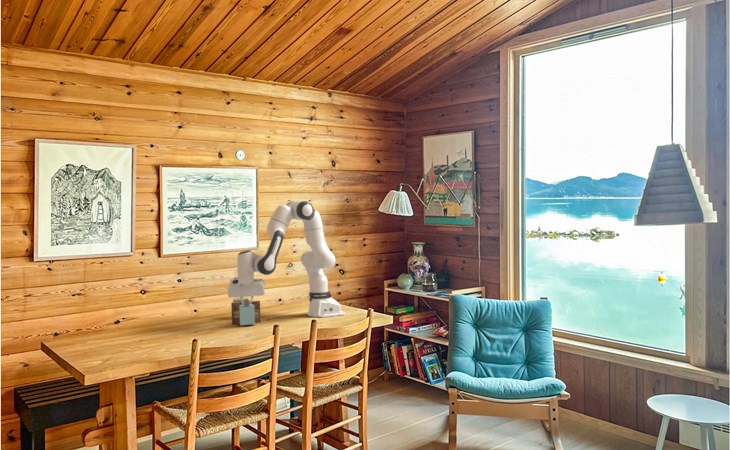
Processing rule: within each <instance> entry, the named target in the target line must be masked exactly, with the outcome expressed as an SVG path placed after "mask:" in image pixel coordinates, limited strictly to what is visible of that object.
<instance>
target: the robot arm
mask: <svg viewBox="0 0 730 450" xmlns="http://www.w3.org/2000/svg"><path fill="white" fill-rule="evenodd" d="M292 220H295V221H300V220H301V221H302V223H303V227H304V228H303V229H304V235H305V236H304V237H305V242H306V244H307V245H309V246H310V249H311V250H307V251H304V252H303V253H302V254H301V257H300V262H301V265H303V267H304V268H305V270H306V273H307V277H308V281H309V283H308V284H309V291H308V301H309V305H308V306H309V307H308V310H307V311H308V312H307V316H308V317H314V318H328V317H329V318H330V317H340V316H345V315H346V312H345V310H342V306H341V304H340V302H338V301H337V300H336V299H334V298H333V296H334V293H333V292H330V291H329V285H328V284H329V281H328V278H327V276H326V275H325V273H324V270H329V269H332V268H333V267H334V266H335V264H336V262H337V261H336V257H335V254H334V253H332V251H331V250H330V248H329V247H328V244H327V242H326V238H325V233H324V228H323V222H322V217H321V214H320V212H319V210H318V211H317V210H315V208H314V205H312V203H310V202H308V201H307V200H296V201H295V200H294V201H290V202H288V203H287V204H279V205H278V206H277V207H276V209H275V210H274V211H273V213H272V214H271V217H270V218H269V221H268V224H267V227H266V231H267V234H268V235H269V237H270V242H269V245H268V248H267V250H266V252H265V254H264V255H261V254H258V253H256V252H253V251H252V250H242V251H240V252H239V253H238V255H237V257H236V258H237V259H236V261H237V264H236V267H237V276H236V277H233V278H231V279H230V280H229V285H228V288H227V297H228V298H240V300H241V301H242V305H245V302H244V301H243V300H242V297H250V299H249V304H252V302H251V301H254V300H253V299H254V297H257V296H258V297H259V296H265V292H266V291H265V285H266V281H265V280H264V279H262V278H256V279H255V273H259V274H262V275H265V276H268V275H271V274H273V273H274V272H275V270H276V267H277V260H278V256H279V253H280V250H281V247H282V244H283V242H284V237H285V233H287V229H288V228H289V225H290V223H291V221H292Z"/></svg>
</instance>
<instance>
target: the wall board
mask: <svg viewBox="0 0 730 450" xmlns="http://www.w3.org/2000/svg"><path fill="white" fill-rule="evenodd" d="M251 302H252V304H253V305H254V312H255V323H261V300H252V301H251ZM240 305H242V302H233V301H232V302H231V308H230V309H231V324H232V325H236V324H237V325H240V313H239V306H240Z"/></svg>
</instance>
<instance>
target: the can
mask: <svg viewBox="0 0 730 450" xmlns="http://www.w3.org/2000/svg"><path fill="white" fill-rule="evenodd" d="M244 299H249V297H247V296H245V297H242V300H243V301H244ZM233 302H242V301H241V300H240V297H233V298H232V303H233Z"/></svg>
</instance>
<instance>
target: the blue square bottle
mask: <svg viewBox="0 0 730 450" xmlns="http://www.w3.org/2000/svg"><path fill="white" fill-rule="evenodd" d="M249 301H250V299H249V298H248V299H244V302H245V305H240V306H239V313H240V324H239V325H240V326H250V325H252V326H253V325H255V324H256V322H255V312H254V305H253V304H249Z"/></svg>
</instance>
